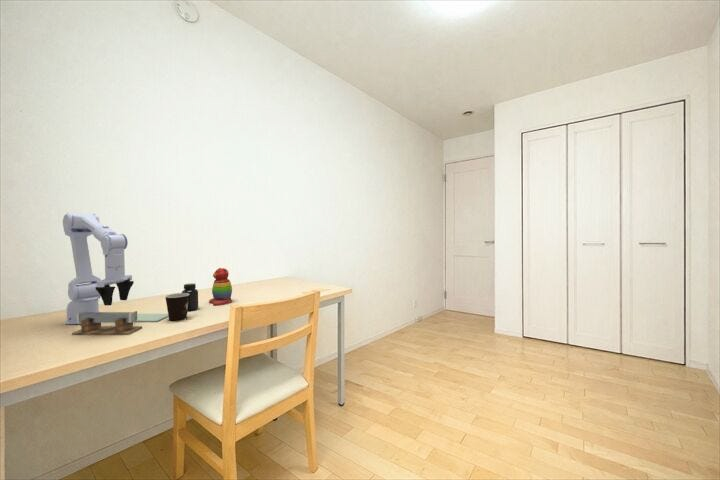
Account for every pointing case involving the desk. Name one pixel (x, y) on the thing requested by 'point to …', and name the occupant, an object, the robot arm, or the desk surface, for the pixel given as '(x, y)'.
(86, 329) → the stand
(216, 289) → the stacking bear
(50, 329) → the desk surface
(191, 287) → the supplement bottle
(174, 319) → the coffee mug
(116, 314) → the rail
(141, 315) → the mat
